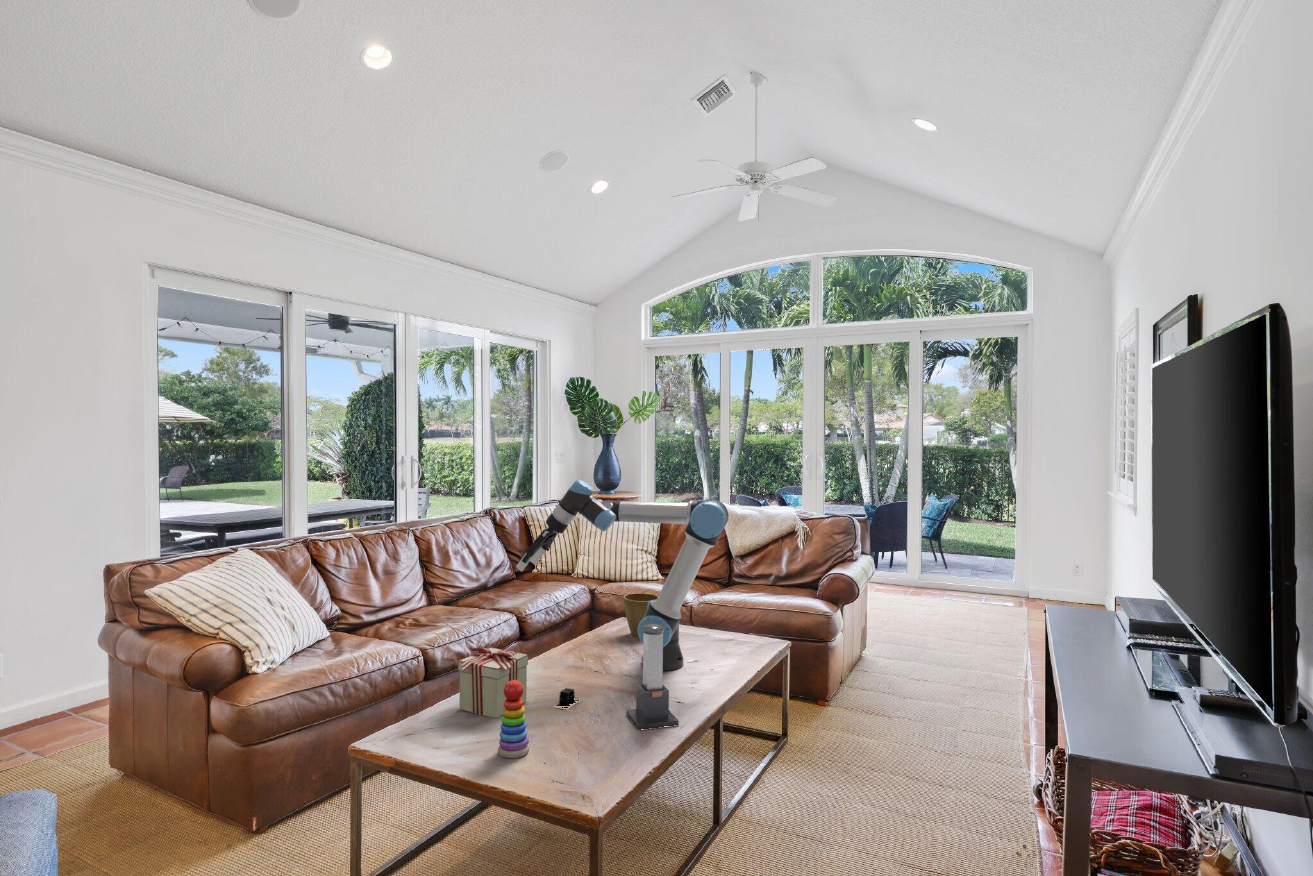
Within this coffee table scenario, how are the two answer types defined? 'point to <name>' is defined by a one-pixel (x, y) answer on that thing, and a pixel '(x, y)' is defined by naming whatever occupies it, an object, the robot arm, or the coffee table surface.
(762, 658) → the coffee table surface
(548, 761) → the coffee table surface
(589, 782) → the coffee table surface
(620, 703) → the coffee table surface
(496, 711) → the gift box
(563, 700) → the black rectangular block
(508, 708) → the stacking toy
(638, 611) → the plant pot
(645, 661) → the stand post
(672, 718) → the stand base
